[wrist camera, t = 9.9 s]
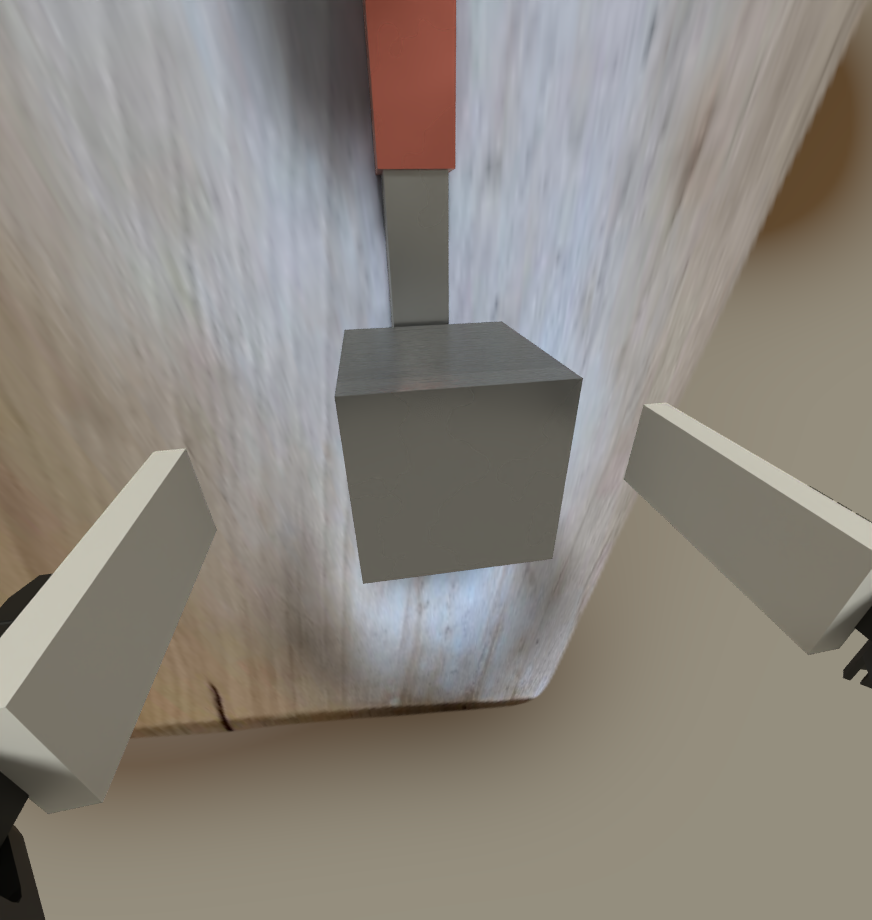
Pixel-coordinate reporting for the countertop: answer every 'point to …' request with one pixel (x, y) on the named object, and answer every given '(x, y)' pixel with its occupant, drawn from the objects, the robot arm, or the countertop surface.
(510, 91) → the countertop surface
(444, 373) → the brushed steel cube
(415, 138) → the ratchet
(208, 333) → the countertop surface
